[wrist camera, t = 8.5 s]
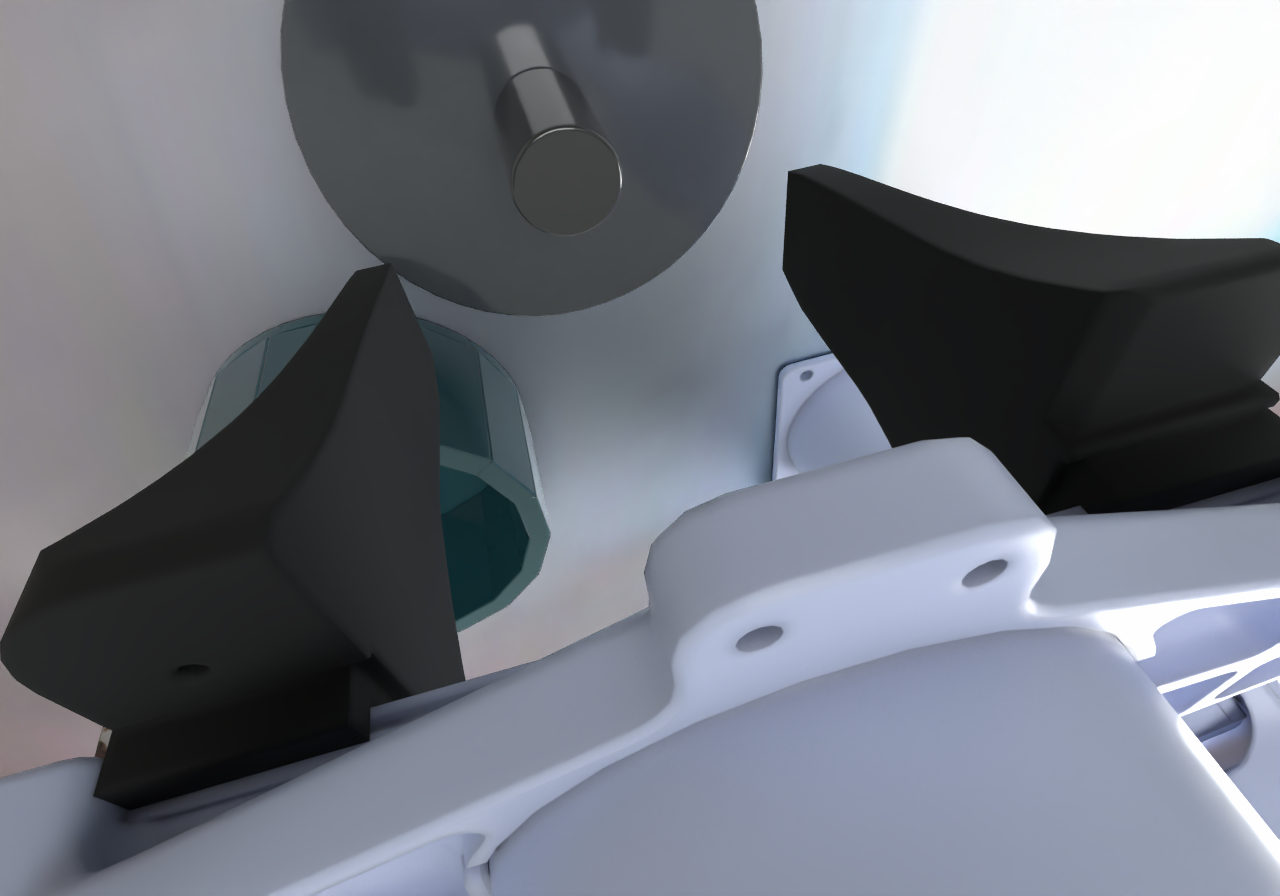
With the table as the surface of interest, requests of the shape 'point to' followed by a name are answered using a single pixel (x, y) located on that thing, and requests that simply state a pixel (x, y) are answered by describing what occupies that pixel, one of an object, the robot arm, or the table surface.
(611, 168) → the grey pot lid
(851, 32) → the table surface
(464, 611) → the cup
